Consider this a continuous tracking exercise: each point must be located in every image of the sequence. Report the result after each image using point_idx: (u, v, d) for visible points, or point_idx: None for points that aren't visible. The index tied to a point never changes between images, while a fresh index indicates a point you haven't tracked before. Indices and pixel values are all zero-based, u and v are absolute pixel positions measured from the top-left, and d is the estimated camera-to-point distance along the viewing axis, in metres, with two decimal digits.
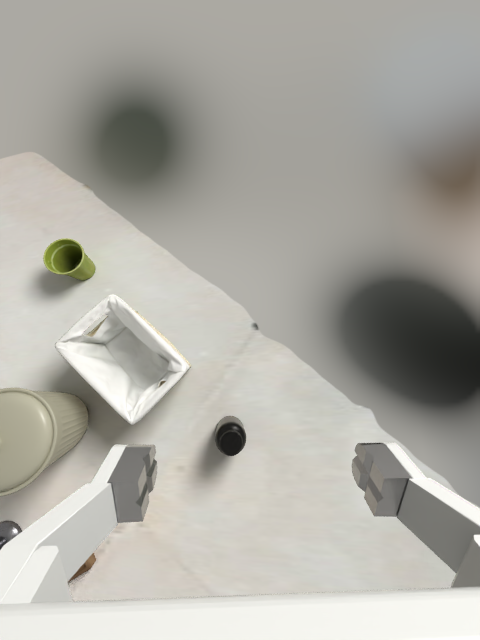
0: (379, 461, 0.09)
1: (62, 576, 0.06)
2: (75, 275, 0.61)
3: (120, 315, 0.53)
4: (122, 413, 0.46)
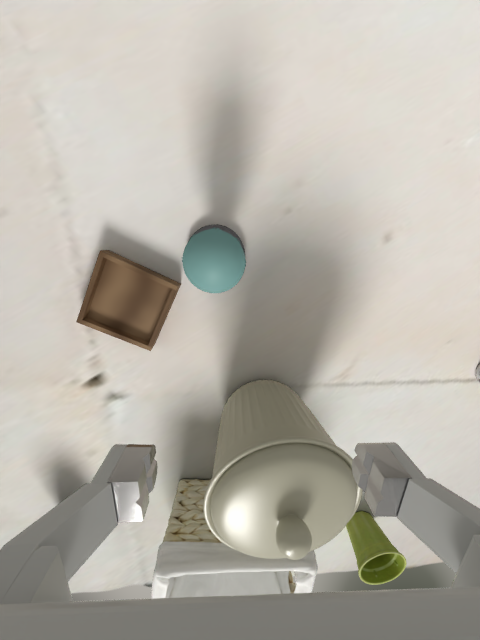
0: (379, 461, 0.09)
1: (62, 576, 0.06)
2: (359, 539, 0.48)
3: None
4: (176, 575, 0.32)
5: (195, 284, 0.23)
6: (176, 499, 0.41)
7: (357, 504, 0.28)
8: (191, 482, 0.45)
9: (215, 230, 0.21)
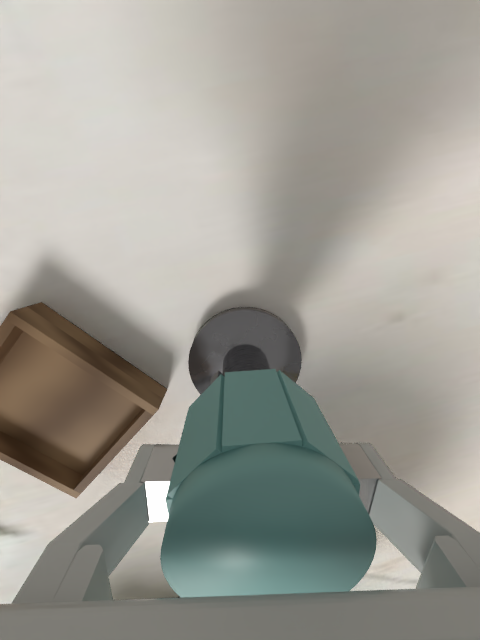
0: (350, 461, 0.08)
1: (105, 575, 0.06)
2: None
3: None
4: None
5: None
6: None
7: None
8: None
9: (311, 482, 0.06)
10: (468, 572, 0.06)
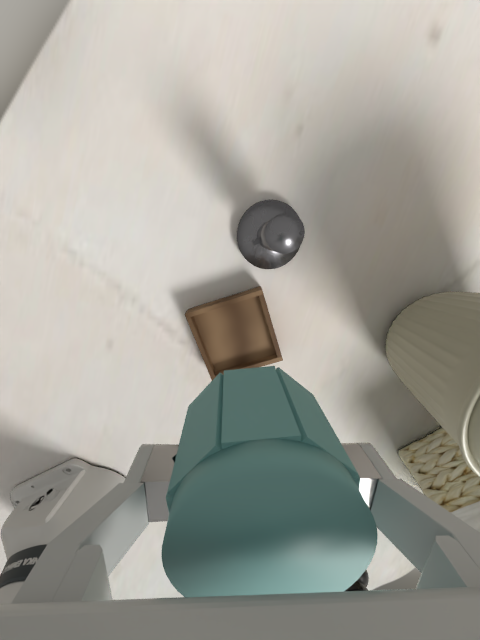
0: (351, 461, 0.08)
1: (105, 575, 0.06)
2: None
3: None
4: None
5: (189, 595, 0.07)
6: (412, 471, 0.37)
7: None
8: (412, 447, 0.40)
9: (311, 477, 0.06)
10: (468, 572, 0.06)
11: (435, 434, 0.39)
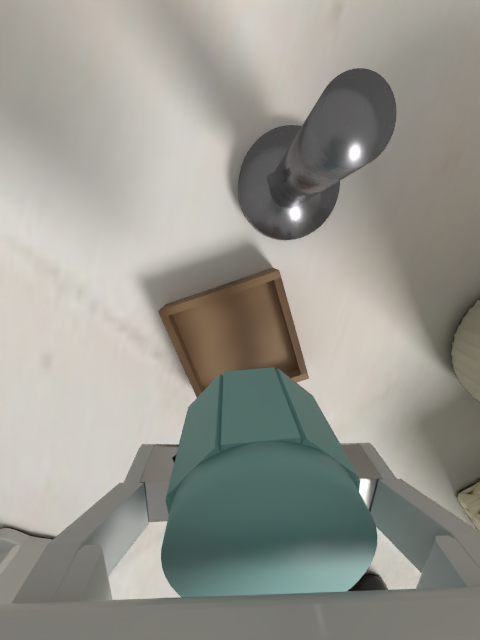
0: (351, 461, 0.08)
1: (105, 575, 0.06)
2: None
3: None
4: None
5: None
6: None
7: None
8: (478, 490, 0.29)
9: (310, 479, 0.06)
10: (469, 572, 0.06)
11: None
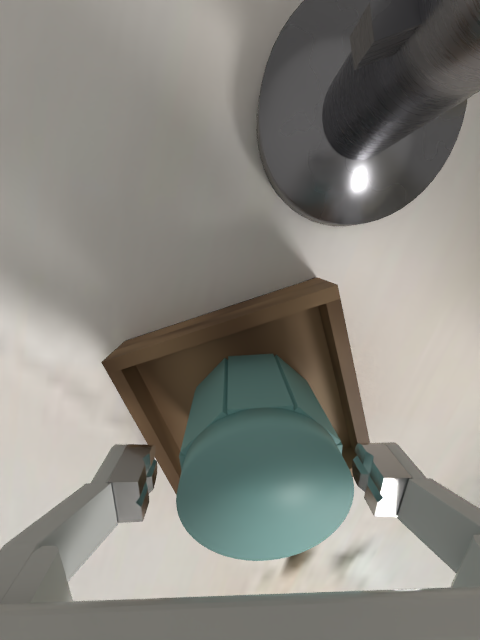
0: (379, 461, 0.09)
1: (62, 576, 0.06)
2: None
3: None
4: None
5: (196, 536, 0.08)
6: None
7: None
8: None
9: (300, 435, 0.07)
10: None
11: None
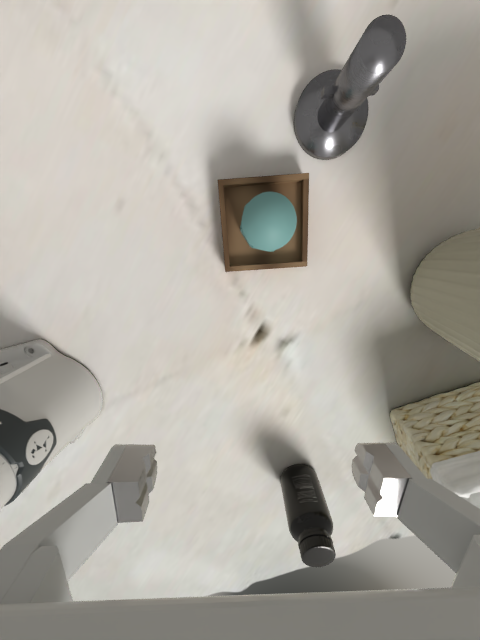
0: (379, 461, 0.09)
1: (62, 576, 0.06)
2: None
3: None
4: None
5: (244, 230, 0.25)
6: (405, 426, 0.36)
7: None
8: (406, 407, 0.39)
9: (285, 198, 0.25)
10: None
11: (432, 398, 0.38)
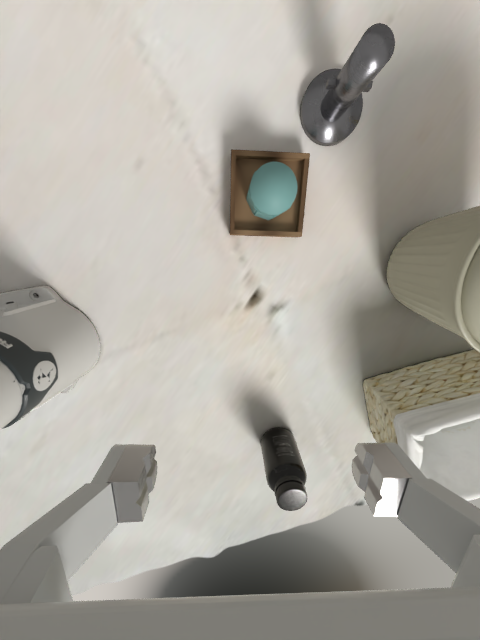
0: (379, 461, 0.09)
1: (62, 576, 0.06)
2: None
3: None
4: (433, 430, 0.31)
5: (252, 193, 0.29)
6: (375, 390, 0.41)
7: None
8: (377, 377, 0.44)
9: (289, 168, 0.29)
10: None
11: (399, 370, 0.44)
